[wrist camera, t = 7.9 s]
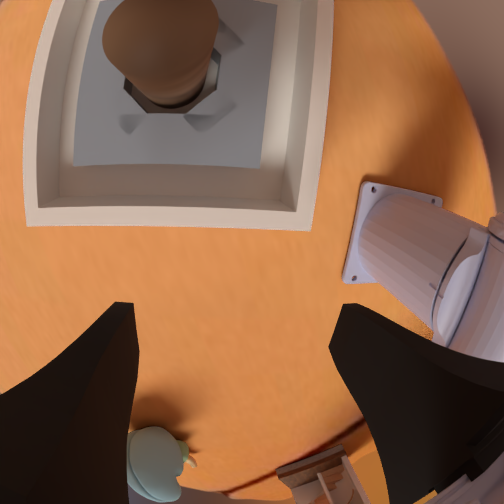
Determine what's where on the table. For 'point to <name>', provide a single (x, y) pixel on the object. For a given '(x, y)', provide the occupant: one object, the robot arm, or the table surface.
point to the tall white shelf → (324, 479)
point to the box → (180, 125)
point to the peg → (163, 47)
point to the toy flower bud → (156, 463)
